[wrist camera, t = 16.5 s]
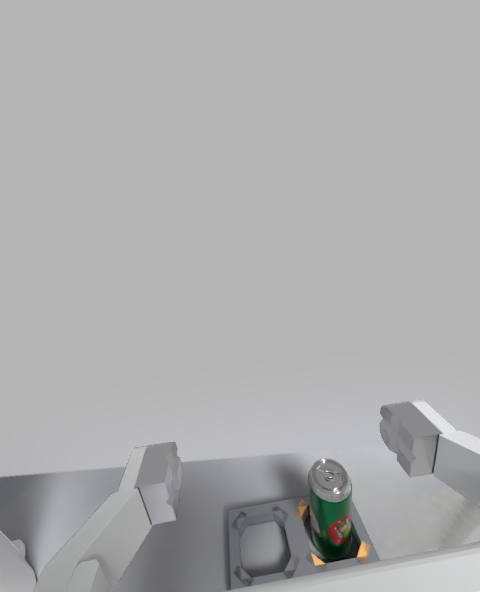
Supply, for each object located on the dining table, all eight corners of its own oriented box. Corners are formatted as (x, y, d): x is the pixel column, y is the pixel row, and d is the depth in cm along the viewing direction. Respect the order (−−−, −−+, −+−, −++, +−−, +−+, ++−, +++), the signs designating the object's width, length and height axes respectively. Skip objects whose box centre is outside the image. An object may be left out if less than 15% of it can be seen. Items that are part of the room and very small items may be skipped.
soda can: (310, 514, 38) (307, 453, 34) (347, 520, 37) (348, 457, 33) (312, 558, 33) (307, 493, 29) (354, 566, 32) (355, 500, 28)
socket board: (233, 606, 30) (231, 596, 29) (229, 519, 39) (227, 510, 38) (382, 577, 31) (383, 566, 30) (346, 497, 39) (346, 488, 39)
